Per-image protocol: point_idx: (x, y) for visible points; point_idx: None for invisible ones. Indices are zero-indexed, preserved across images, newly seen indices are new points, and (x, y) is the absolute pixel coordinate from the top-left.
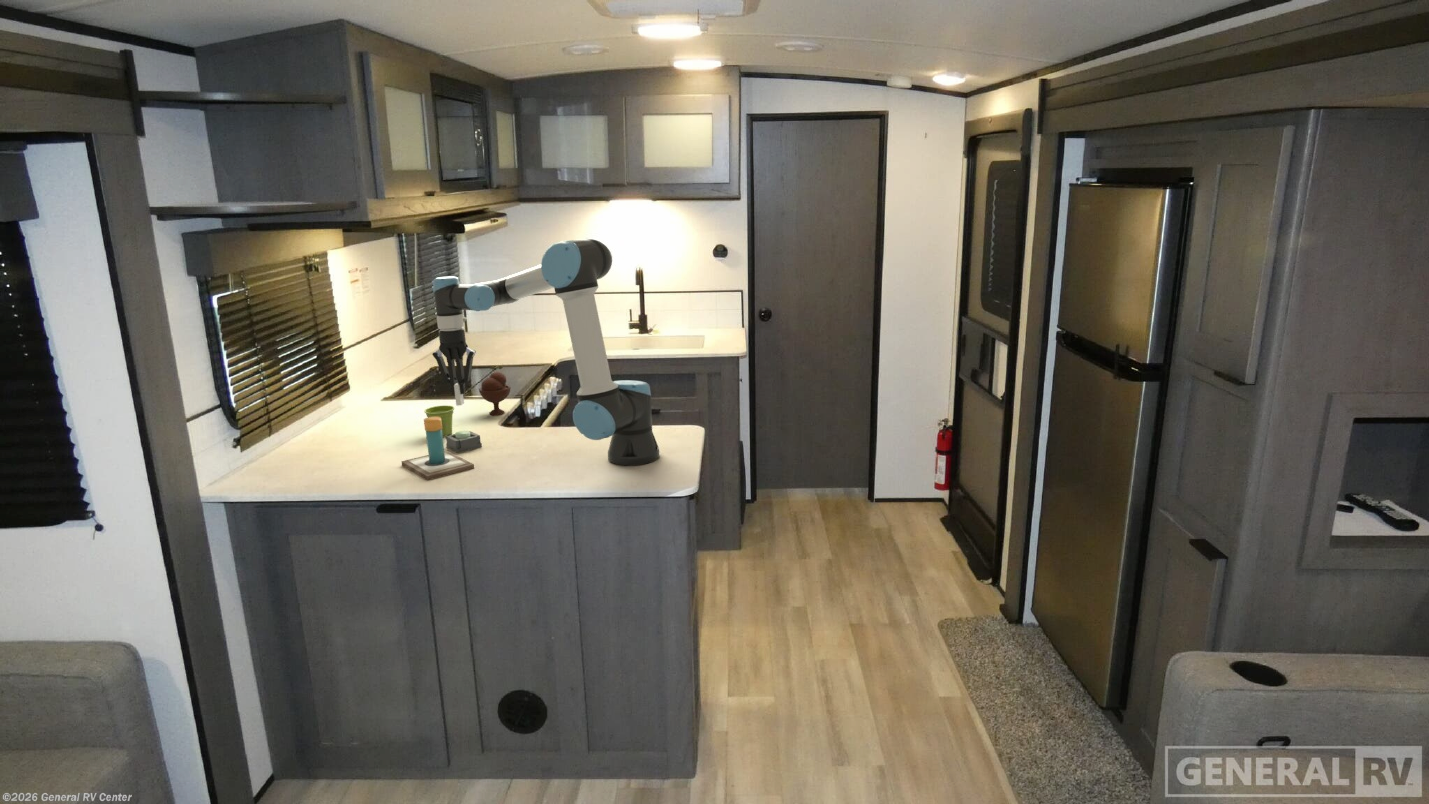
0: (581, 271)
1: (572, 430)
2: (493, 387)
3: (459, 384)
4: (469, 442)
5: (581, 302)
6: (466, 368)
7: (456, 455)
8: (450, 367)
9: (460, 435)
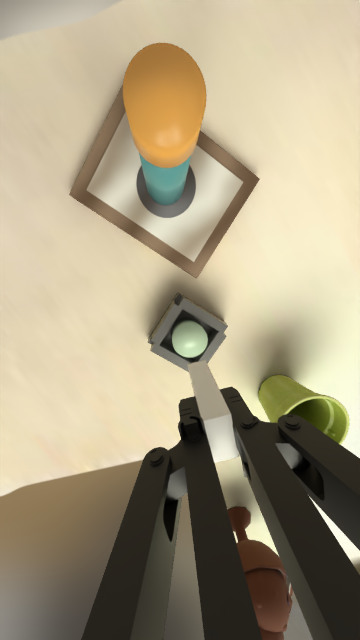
0: None
1: (25, 470)
2: (248, 586)
3: (191, 418)
4: (162, 320)
5: None
6: (131, 584)
7: (152, 248)
8: (318, 557)
9: (185, 324)
